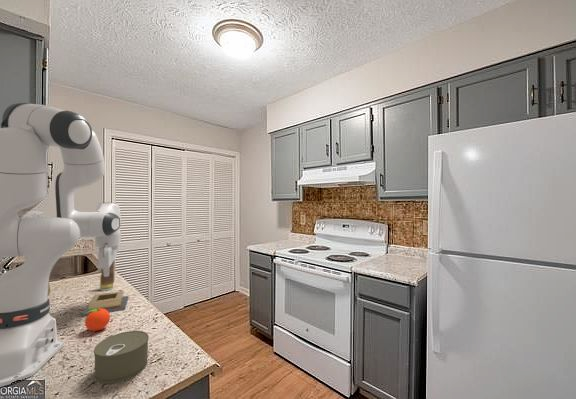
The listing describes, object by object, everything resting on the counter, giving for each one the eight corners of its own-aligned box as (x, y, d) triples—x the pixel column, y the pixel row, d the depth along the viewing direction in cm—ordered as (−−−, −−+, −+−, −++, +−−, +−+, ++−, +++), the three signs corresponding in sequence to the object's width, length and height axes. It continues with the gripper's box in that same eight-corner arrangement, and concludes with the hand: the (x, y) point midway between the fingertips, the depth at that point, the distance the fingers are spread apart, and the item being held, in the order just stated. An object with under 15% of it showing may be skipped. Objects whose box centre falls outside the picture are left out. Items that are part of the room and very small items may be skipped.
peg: (112, 283, 106) (113, 262, 106) (101, 285, 104) (101, 263, 104) (114, 280, 110) (114, 260, 110) (103, 282, 108) (103, 260, 108)
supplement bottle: (99, 288, 128) (99, 269, 128) (112, 286, 132) (112, 267, 132) (100, 291, 124) (100, 271, 124) (113, 289, 128) (113, 270, 128)
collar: (125, 309, 104) (125, 299, 104) (81, 316, 97) (81, 305, 97) (128, 297, 116) (128, 289, 116) (90, 303, 110) (90, 294, 110)
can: (156, 354, 73) (156, 330, 73) (132, 384, 61) (132, 355, 61) (113, 355, 73) (113, 331, 73) (81, 385, 61) (81, 356, 61)
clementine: (76, 336, 83) (76, 314, 83) (87, 326, 89) (87, 306, 89) (105, 333, 85) (105, 311, 85) (113, 323, 91) (113, 303, 91)
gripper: (113, 245, 99) (113, 280, 99) (120, 237, 117) (120, 267, 117) (93, 246, 96) (92, 282, 96) (103, 238, 115) (103, 269, 115)
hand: (107, 274), depth 107 cm, fingers closed on peg, 4 cm apart
